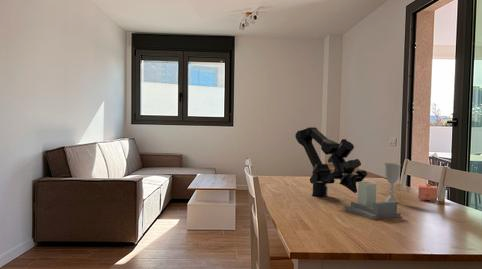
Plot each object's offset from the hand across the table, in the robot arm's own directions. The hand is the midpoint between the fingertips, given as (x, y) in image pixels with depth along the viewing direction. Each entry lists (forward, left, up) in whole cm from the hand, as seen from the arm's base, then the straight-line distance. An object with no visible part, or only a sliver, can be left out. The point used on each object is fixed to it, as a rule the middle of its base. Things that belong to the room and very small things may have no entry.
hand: (355, 192), depth 146 cm
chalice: (+13, +22, -7) cm, 26 cm away
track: (+7, -6, -7) cm, 12 cm away
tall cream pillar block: (+5, -4, -5) cm, 8 cm away
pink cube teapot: (+28, +35, -7) cm, 45 cm away
